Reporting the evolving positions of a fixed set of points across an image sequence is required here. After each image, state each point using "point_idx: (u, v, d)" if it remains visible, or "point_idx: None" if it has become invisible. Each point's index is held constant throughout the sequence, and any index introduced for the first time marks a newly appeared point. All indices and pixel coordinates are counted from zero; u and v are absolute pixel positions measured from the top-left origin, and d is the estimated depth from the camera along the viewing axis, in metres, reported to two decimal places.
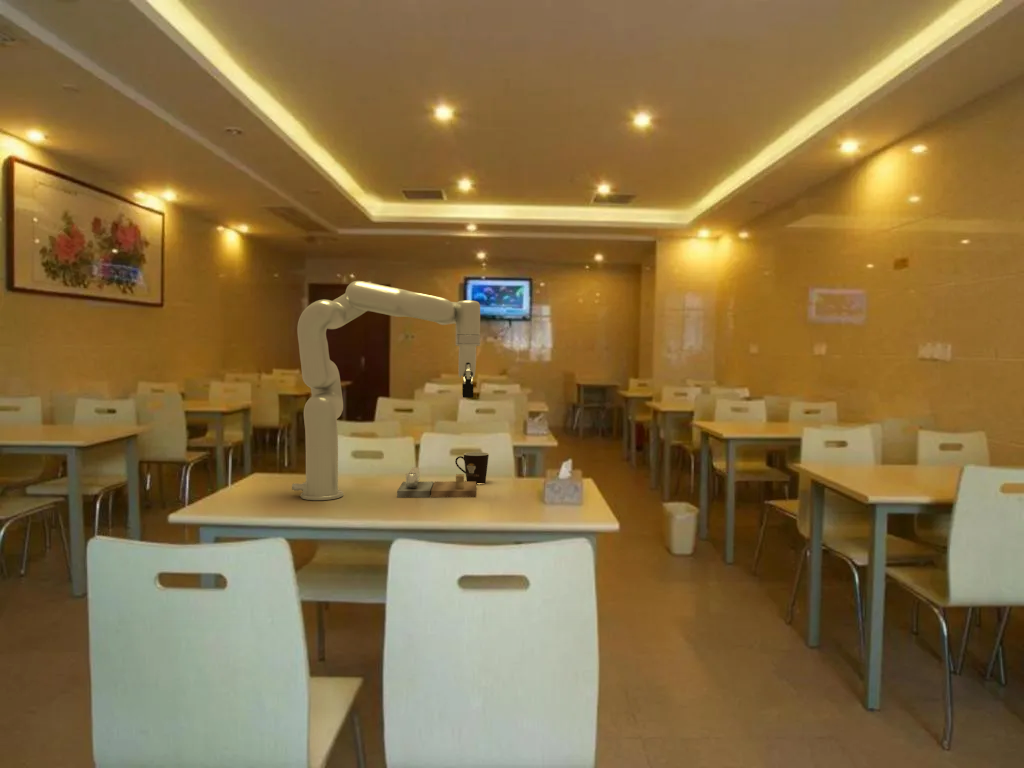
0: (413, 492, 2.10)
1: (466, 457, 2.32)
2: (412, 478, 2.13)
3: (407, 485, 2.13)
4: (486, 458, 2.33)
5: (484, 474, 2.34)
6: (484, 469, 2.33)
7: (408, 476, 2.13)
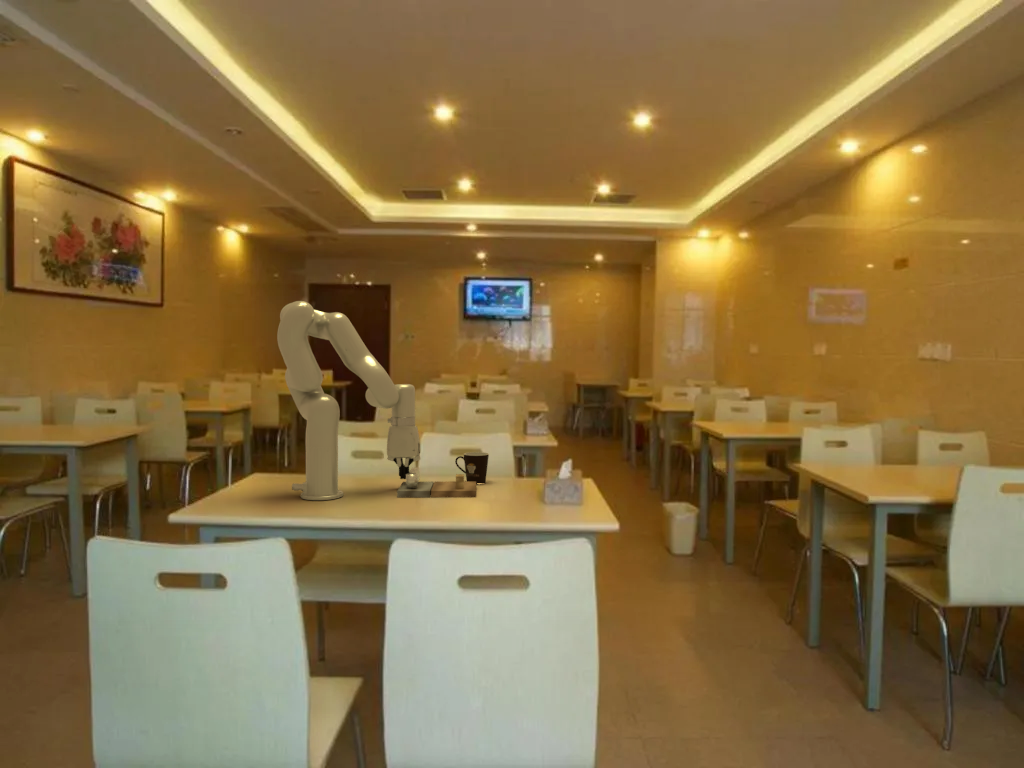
0: (413, 492, 2.10)
1: (466, 457, 2.32)
2: (412, 478, 2.13)
3: (407, 485, 2.13)
4: (486, 458, 2.33)
5: (484, 474, 2.34)
6: (484, 469, 2.33)
7: (408, 476, 2.13)
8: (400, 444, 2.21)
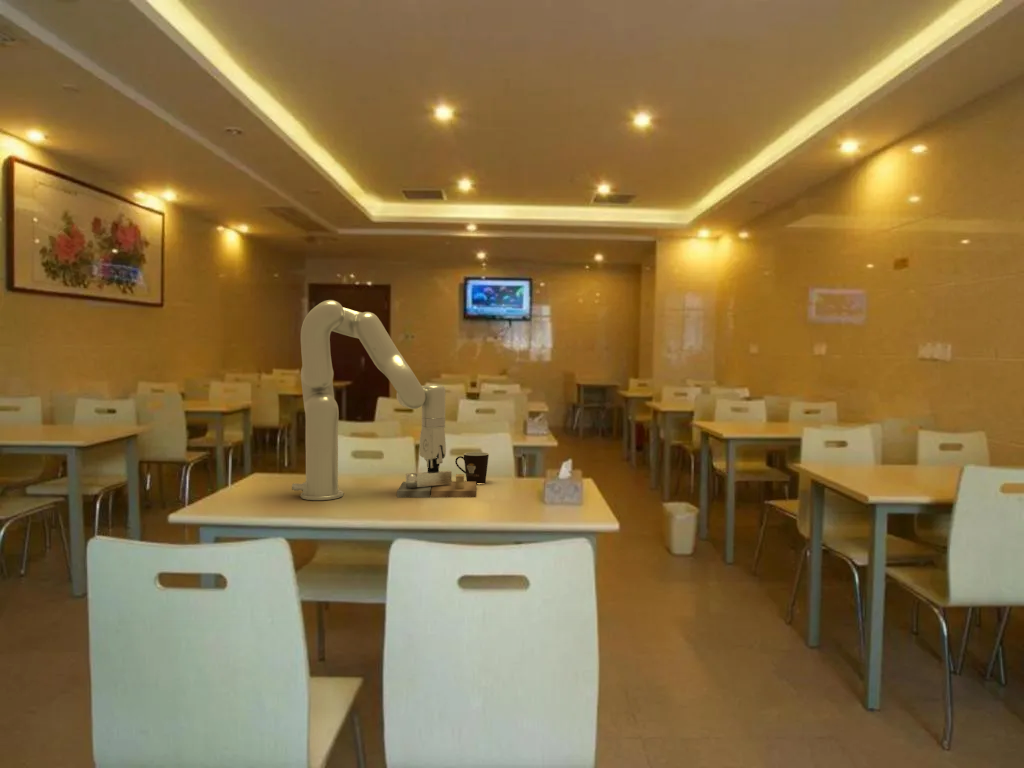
0: (413, 492, 2.10)
1: (466, 457, 2.32)
2: (407, 478, 2.14)
3: None
4: (486, 458, 2.33)
5: (484, 474, 2.34)
6: (484, 469, 2.33)
7: (406, 475, 2.15)
8: (425, 445, 2.20)
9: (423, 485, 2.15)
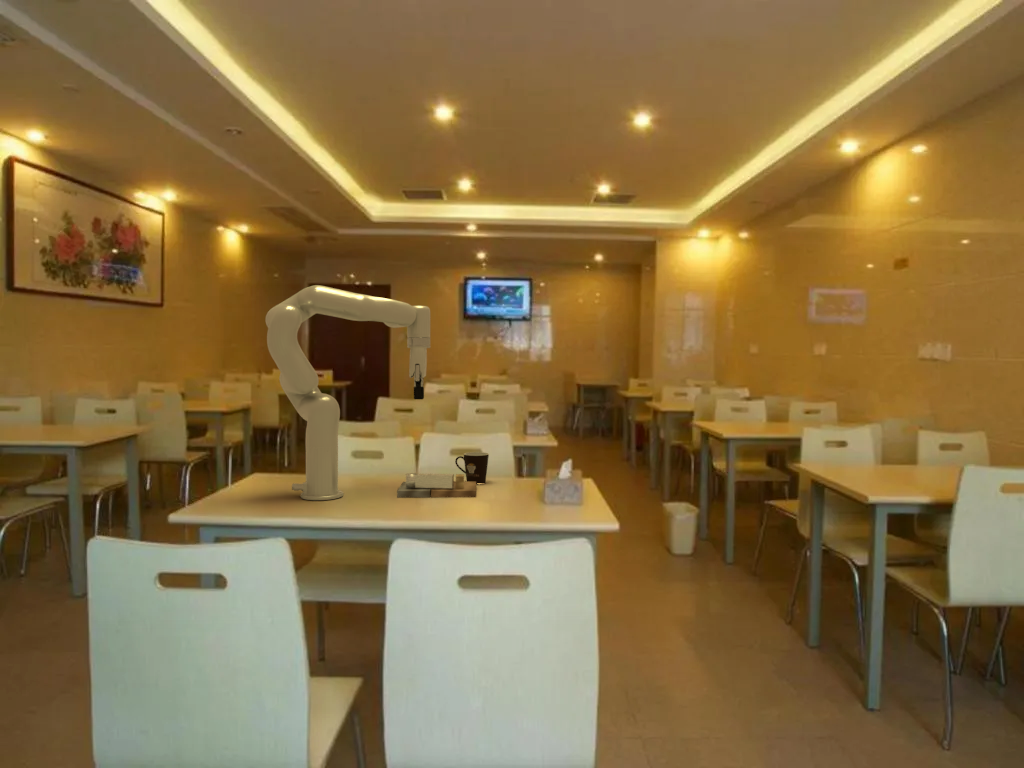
0: (413, 492, 2.10)
1: (466, 457, 2.32)
2: (406, 477, 2.14)
3: None
4: (486, 458, 2.33)
5: (484, 474, 2.34)
6: (484, 469, 2.33)
7: None
8: None
9: (421, 486, 2.13)
